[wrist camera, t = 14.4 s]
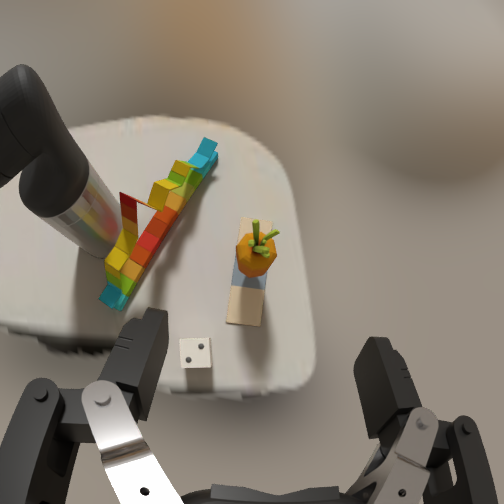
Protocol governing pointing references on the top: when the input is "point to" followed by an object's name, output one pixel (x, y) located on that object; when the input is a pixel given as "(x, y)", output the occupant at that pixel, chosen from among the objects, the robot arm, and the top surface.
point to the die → (195, 352)
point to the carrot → (256, 251)
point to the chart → (152, 223)
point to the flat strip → (247, 285)
